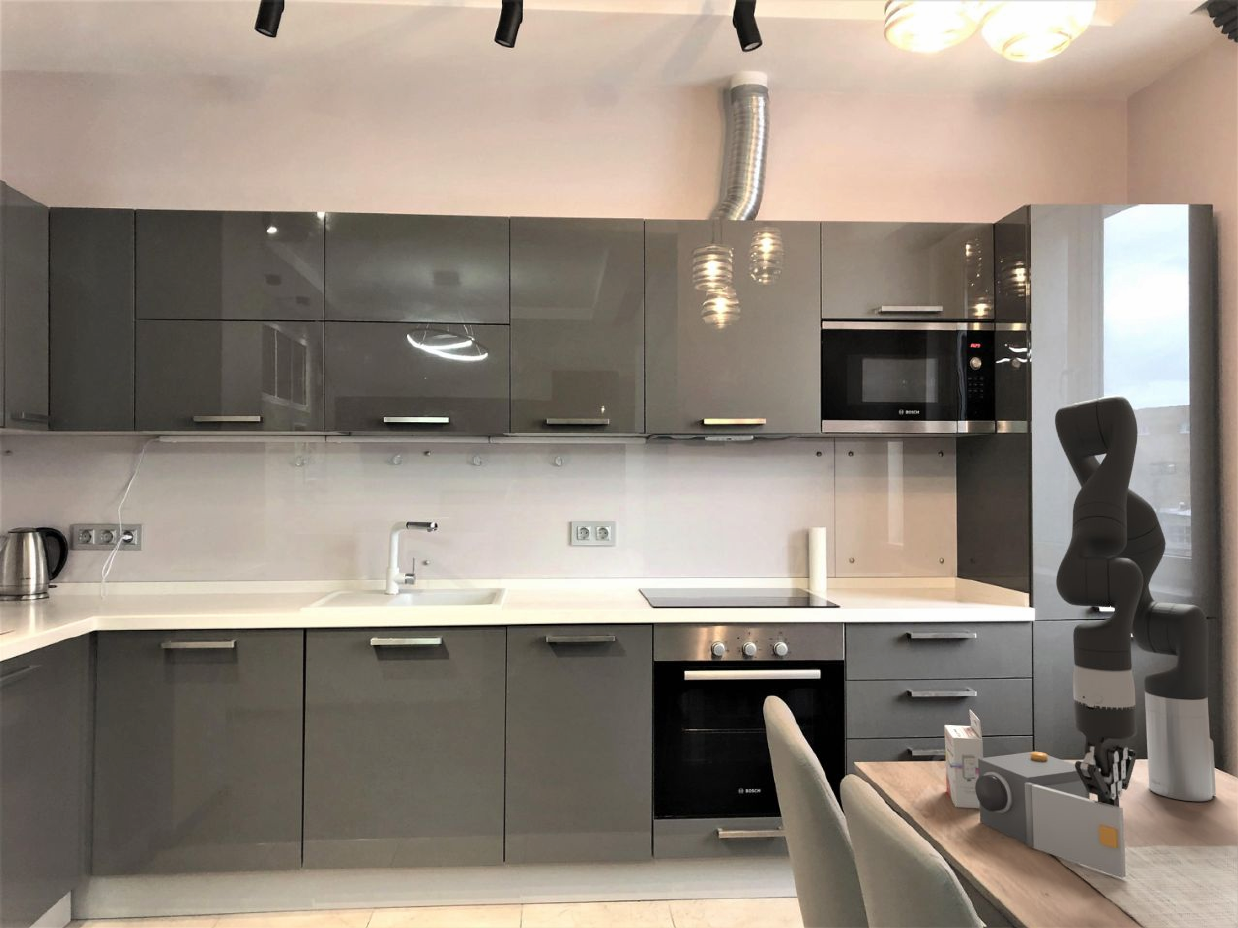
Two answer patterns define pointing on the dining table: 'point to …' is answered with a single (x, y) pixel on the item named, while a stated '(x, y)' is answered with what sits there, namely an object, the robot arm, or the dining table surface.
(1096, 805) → the side door
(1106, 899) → the dining table surface
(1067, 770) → the camera body
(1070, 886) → the dining table surface
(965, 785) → the ink cartridge box
